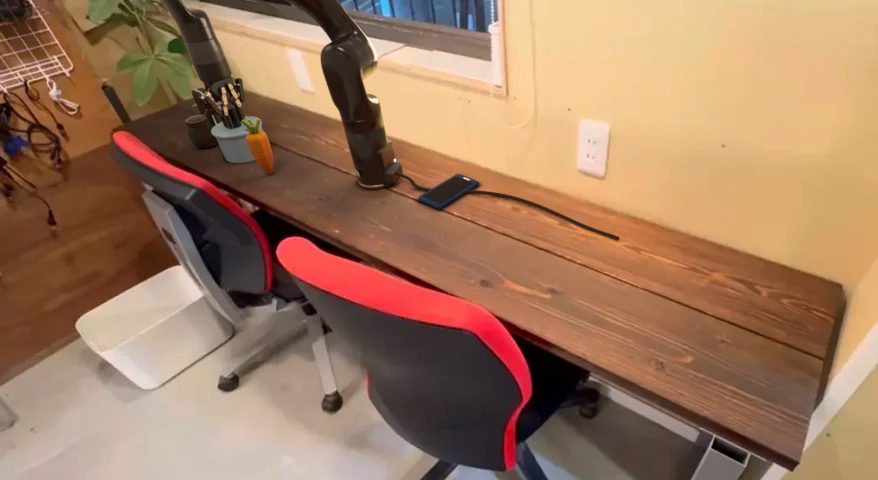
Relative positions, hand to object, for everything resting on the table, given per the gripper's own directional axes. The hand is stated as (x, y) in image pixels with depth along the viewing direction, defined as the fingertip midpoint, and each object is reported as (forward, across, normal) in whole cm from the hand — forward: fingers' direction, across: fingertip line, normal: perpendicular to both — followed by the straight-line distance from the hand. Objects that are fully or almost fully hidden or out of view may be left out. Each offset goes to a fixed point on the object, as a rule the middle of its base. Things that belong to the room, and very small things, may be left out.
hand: (235, 124), depth 137 cm
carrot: (+9, -9, -14) cm, 19 cm away
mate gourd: (+9, +2, +15) cm, 17 cm away
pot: (+8, 0, 0) cm, 8 cm away
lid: (+1, 0, 0) cm, 1 cm away
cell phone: (+8, -8, -63) cm, 64 cm away
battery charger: (+9, +13, +21) cm, 26 cm away
